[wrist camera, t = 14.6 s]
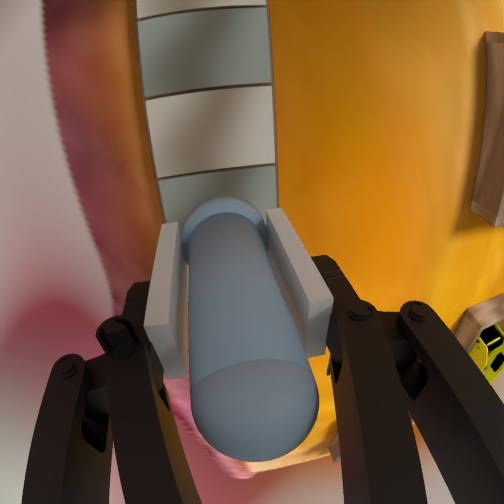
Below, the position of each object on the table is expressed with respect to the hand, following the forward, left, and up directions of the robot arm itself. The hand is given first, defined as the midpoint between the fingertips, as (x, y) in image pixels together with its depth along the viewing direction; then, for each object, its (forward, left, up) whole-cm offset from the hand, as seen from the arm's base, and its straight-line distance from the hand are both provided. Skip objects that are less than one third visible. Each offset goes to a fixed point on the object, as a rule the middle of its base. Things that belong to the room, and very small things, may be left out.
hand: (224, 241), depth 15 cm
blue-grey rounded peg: (0, 0, -1) cm, 1 cm away
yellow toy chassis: (-33, +28, -6) cm, 44 cm away
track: (0, -5, -5) cm, 7 cm away
